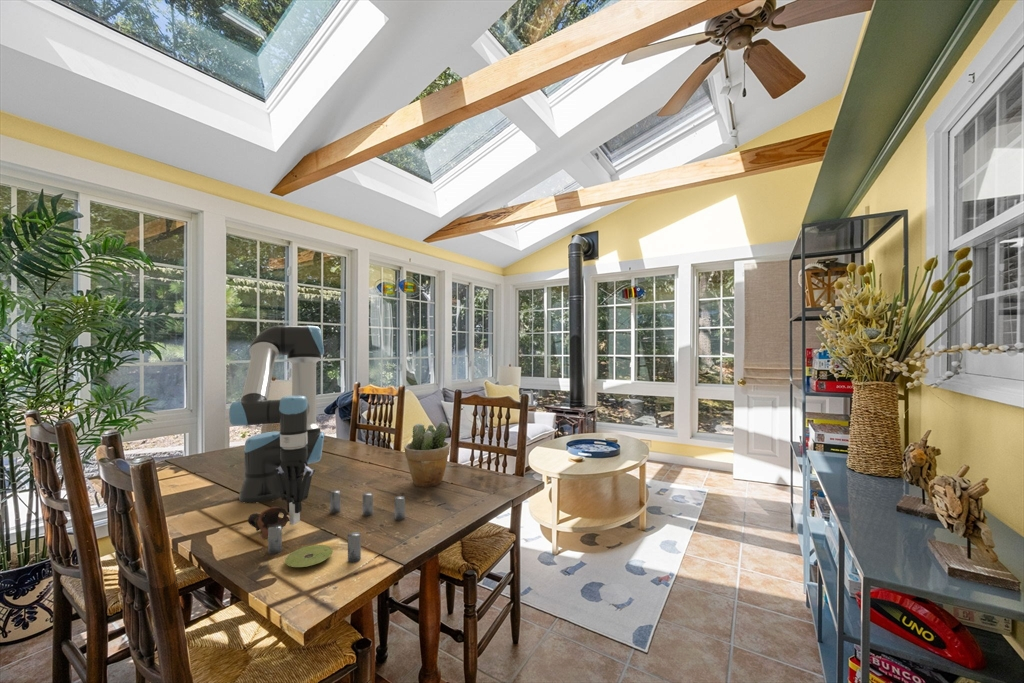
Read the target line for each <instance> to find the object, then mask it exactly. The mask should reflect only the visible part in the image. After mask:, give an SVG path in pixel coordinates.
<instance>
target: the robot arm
mask: <svg viewBox="0 0 1024 683" xmlns="http://www.w3.org/2000/svg"><path fill="white" fill-rule="evenodd" d="M324 348H325V347H324V341H323V335H322V330H321V328H320V327H319V326H316V325H282V324H281V325H275V326H271V327H268V328H266V329H265V330H262V332H260V333H259V334H258V335H257V336H256V337H255V338H254V339H253V341H252V342H251V344H250V346H249V351H248V353H249V356H250V361H249V364H248V369H247V373H246V377H245V381H244V386H243V390H242V394H241V398H240V400H239V401H234V402H232V403H231V404H230V405H229V410H228V414H229V415H228V418H229V423H230V424H231V425H232V426H239V427H242V426H256V425H267V424H268V425H269V424H279V431H278V430H277V431H275V430H274V431H269V432H263V433H259V434H255V435H252V436H250V437H248V438H247V439H246V440H245V442H244V450H243V453H244V480H243V483H242V486H241V489H240V491H239V493H238V494H239V495H238V496H239V497H238V499H239V500H240V501H241V503H243V502H245V503H244V504H257V503H256V502H261V503H265V501H266V502H270V501H274V500H276V498H277V499H279V498H280V499H281V501H286V503H287V505H286V506H287V507H286V508H287V510H286V511H287V513H288V515H289V516H288V518H289V519H290V521H288V524H289V525H291V526H294V525H296V524H297V523H299V522H301V517H300V515H301V512H302V502H303V501H304V500H306V499H308V497H309V492H310V487H311V484H312V478H313V475H314V473H315V471H316V469H315V468H311V467H309V464H314V463H315V464H316V463H318V462H320V461H321V459H322V454H323V453H322V452H323V449H324V442H325V439H324V438H325V431H321V426H320V425H318V423H317V363H318V362H319V361H320V360H321V356H323V355H324V354H325V349H324ZM279 356H287V361H289V362H290V363H291V364H292V365H291V376H292V377H291V395H287V396H282V397H280V399H269V395H270V388H271V383H272V378H273V372H274V367H275V361H276V360H277V359H278V357H279ZM278 497H279V498H278ZM273 499H274V500H273ZM239 500H238V501H239ZM269 500H270V501H269ZM240 501H239V502H240Z"/></svg>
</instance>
